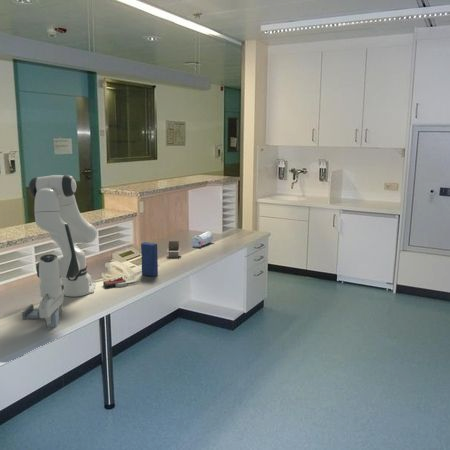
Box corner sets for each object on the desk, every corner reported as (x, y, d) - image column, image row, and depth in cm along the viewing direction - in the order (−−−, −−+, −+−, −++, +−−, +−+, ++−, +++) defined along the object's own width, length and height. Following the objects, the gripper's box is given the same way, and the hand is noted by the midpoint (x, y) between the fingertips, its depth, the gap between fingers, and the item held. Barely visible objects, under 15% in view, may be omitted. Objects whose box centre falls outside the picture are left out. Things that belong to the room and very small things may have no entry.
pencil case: (199, 248, 349) (199, 236, 347) (190, 247, 353) (190, 235, 351) (213, 243, 367) (213, 231, 365) (204, 241, 371) (204, 230, 369)
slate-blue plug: (50, 323, 211) (49, 309, 210) (59, 323, 211) (58, 310, 210) (47, 326, 207) (46, 313, 206) (56, 326, 207) (55, 313, 206)
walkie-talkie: (106, 290, 256) (139, 284, 267) (106, 283, 255) (139, 277, 266) (101, 286, 263) (133, 280, 274) (100, 278, 262) (133, 273, 273)
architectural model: (187, 254, 334) (187, 239, 332) (186, 260, 318) (186, 244, 315) (161, 254, 333) (161, 239, 331) (159, 260, 316) (159, 244, 314)
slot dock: (31, 311, 224) (31, 304, 224) (62, 311, 225) (61, 304, 224) (22, 319, 215) (22, 312, 214) (54, 319, 215) (54, 312, 214)
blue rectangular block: (158, 274, 284) (158, 243, 280) (153, 277, 279) (153, 245, 275) (146, 272, 288) (145, 241, 284) (141, 274, 283) (140, 243, 279)
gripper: (49, 299, 195) (51, 329, 198) (65, 283, 215) (67, 311, 218) (34, 299, 195) (36, 329, 198) (52, 283, 215) (53, 311, 218)
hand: (52, 319), depth 208 cm, fingers open, 7 cm apart
